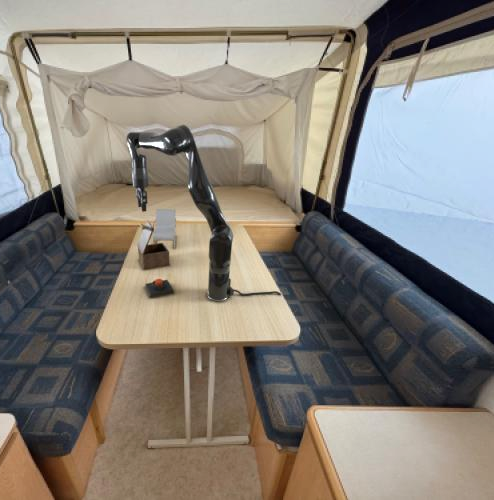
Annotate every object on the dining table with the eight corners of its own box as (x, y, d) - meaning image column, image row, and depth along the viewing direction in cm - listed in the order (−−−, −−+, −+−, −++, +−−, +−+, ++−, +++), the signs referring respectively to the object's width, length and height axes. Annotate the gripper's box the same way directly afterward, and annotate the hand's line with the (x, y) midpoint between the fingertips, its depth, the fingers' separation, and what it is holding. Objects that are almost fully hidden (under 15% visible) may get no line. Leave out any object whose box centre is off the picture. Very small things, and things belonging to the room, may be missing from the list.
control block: (167, 283, 132) (167, 276, 131) (173, 293, 125) (173, 285, 123) (145, 287, 128) (145, 280, 127) (150, 297, 121) (149, 290, 119)
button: (161, 281, 127) (161, 278, 126) (163, 285, 124) (163, 281, 123) (154, 282, 126) (154, 279, 125) (156, 286, 123) (156, 283, 122)
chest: (162, 256, 160) (162, 242, 156) (169, 265, 149) (169, 251, 145) (138, 259, 154) (137, 246, 151) (143, 270, 144) (142, 255, 140)
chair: (176, 235, 190) (175, 208, 182) (174, 249, 167) (174, 220, 159) (157, 234, 190) (156, 208, 181) (153, 249, 167) (151, 220, 159)
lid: (148, 221, 147) (140, 218, 145) (154, 228, 136) (145, 225, 134) (138, 245, 151) (130, 243, 148) (143, 254, 140) (134, 252, 138)
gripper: (151, 179, 125) (153, 212, 132) (144, 174, 137) (146, 204, 143) (135, 179, 122) (138, 213, 129) (129, 174, 134) (132, 206, 141)
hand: (142, 209), depth 136 cm, fingers open, 8 cm apart
